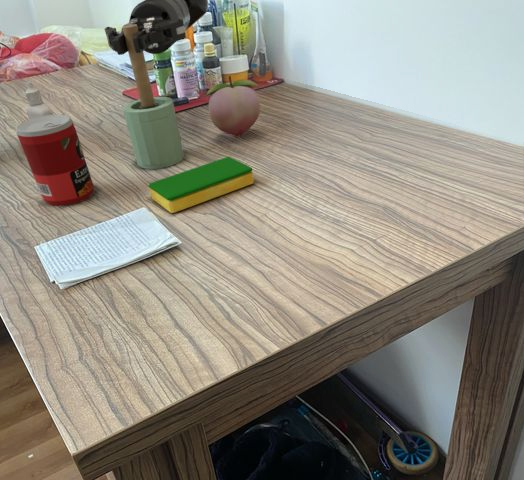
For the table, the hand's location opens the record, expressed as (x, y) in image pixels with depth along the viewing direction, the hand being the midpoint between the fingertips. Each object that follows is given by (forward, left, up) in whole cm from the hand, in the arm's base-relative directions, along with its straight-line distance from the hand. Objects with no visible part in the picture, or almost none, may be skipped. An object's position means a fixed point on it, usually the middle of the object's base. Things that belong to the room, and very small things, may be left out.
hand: (127, 45), depth 74 cm
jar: (+2, +2, -18) cm, 18 cm away
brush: (+2, +2, -14) cm, 14 cm away
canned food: (-15, +2, -18) cm, 23 cm away
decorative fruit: (+17, -1, -18) cm, 25 cm away
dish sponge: (-2, -15, -18) cm, 23 cm away
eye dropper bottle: (-7, +25, -18) cm, 31 cm away
